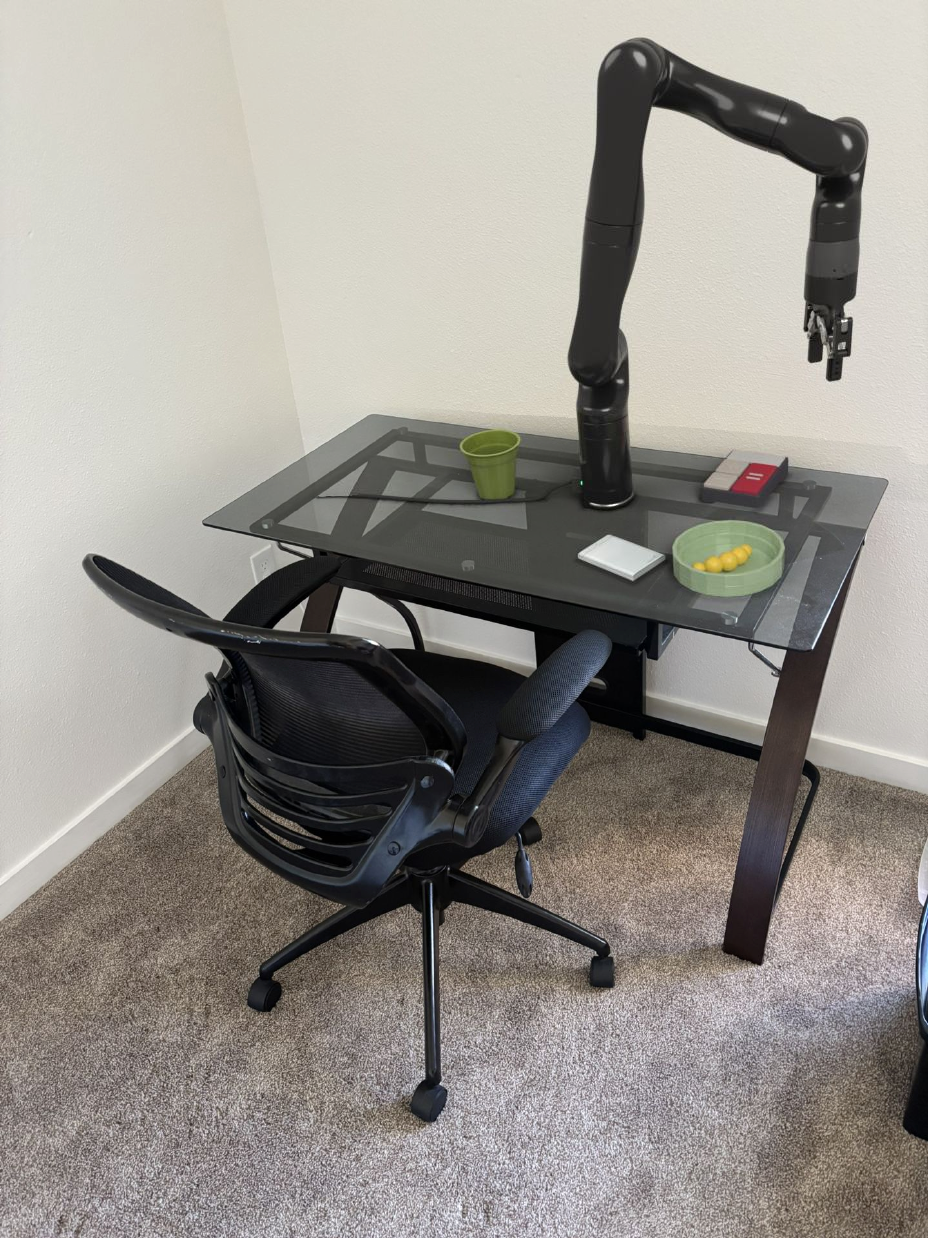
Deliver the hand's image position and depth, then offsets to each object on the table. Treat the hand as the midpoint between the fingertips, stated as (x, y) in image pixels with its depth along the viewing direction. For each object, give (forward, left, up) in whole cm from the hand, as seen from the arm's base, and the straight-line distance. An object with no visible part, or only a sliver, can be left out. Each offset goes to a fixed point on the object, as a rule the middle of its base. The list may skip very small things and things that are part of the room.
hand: (823, 370), depth 151 cm
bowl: (-17, -19, -25) cm, 35 cm away
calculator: (-11, +9, -25) cm, 29 cm away
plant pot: (-58, +15, -25) cm, 65 cm away
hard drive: (-34, -14, -25) cm, 44 cm away
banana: (-17, -19, -24) cm, 35 cm away
